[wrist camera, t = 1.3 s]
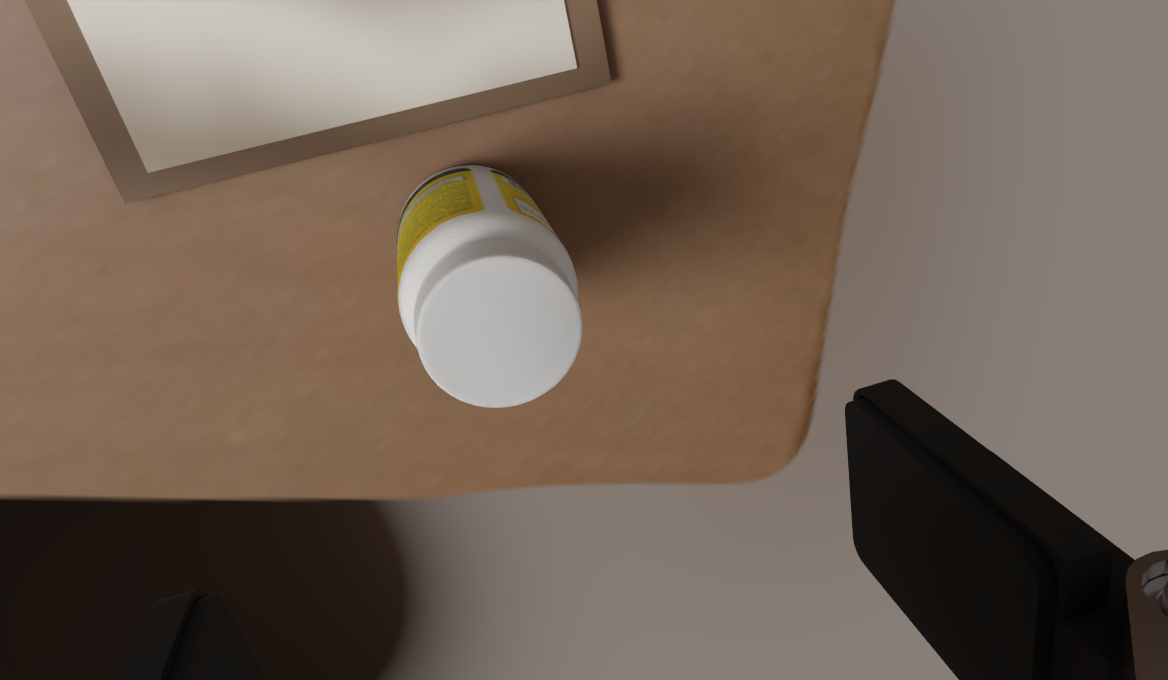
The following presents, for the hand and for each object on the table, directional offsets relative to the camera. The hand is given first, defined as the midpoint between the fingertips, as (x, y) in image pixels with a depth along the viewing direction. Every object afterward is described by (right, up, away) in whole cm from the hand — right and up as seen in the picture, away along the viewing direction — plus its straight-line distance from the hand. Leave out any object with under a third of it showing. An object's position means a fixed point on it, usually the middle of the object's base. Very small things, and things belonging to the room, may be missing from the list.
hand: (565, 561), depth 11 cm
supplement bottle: (-4, +7, +14) cm, 16 cm away
